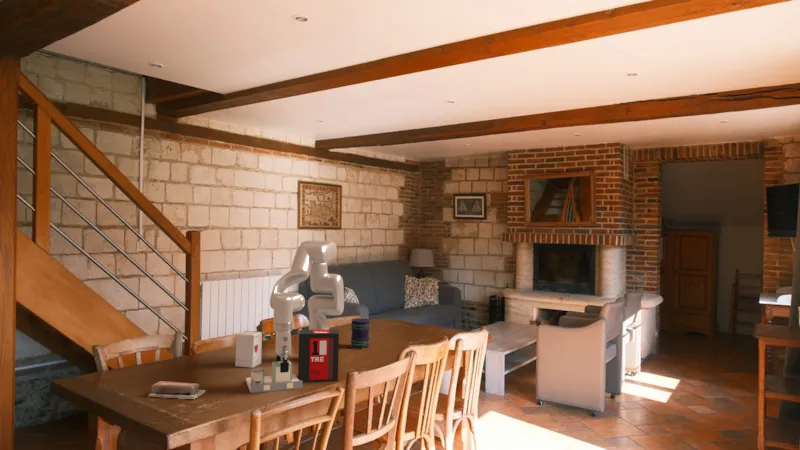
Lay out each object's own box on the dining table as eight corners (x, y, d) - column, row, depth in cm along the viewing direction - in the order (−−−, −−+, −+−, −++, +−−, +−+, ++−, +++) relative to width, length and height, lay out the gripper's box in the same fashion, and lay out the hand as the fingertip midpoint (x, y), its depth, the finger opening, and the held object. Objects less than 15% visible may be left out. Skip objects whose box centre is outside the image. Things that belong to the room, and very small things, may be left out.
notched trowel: (147, 385, 197) (161, 378, 207) (147, 398, 197) (161, 390, 207) (194, 388, 196) (206, 380, 206) (193, 401, 196) (205, 393, 206)
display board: (294, 377, 228) (294, 370, 228) (302, 388, 213) (302, 381, 213) (246, 381, 221) (246, 374, 221) (250, 393, 205) (251, 385, 205)
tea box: (288, 380, 219) (289, 360, 219) (291, 383, 213) (292, 363, 213) (271, 381, 216) (272, 361, 216) (273, 385, 211) (274, 365, 211)
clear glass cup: (263, 383, 214) (263, 367, 214) (265, 386, 209) (265, 370, 209) (249, 384, 212) (250, 368, 212) (251, 388, 207) (251, 371, 207)
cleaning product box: (297, 382, 222) (299, 334, 222) (298, 376, 230) (299, 330, 231) (337, 381, 224) (338, 333, 225) (336, 375, 233) (337, 329, 233)
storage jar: (372, 347, 291) (373, 319, 291) (361, 350, 283) (362, 322, 283) (358, 344, 296) (358, 317, 297) (347, 347, 288) (347, 320, 288)
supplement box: (252, 368, 242) (253, 335, 242) (234, 366, 244) (235, 334, 244) (262, 363, 251) (262, 331, 251) (244, 362, 252) (245, 330, 253)
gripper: (296, 330, 208) (295, 373, 209) (288, 322, 224) (287, 362, 225) (277, 331, 206) (276, 375, 206) (270, 323, 222) (269, 364, 222)
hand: (282, 368), depth 215 cm, fingers open, 9 cm apart
